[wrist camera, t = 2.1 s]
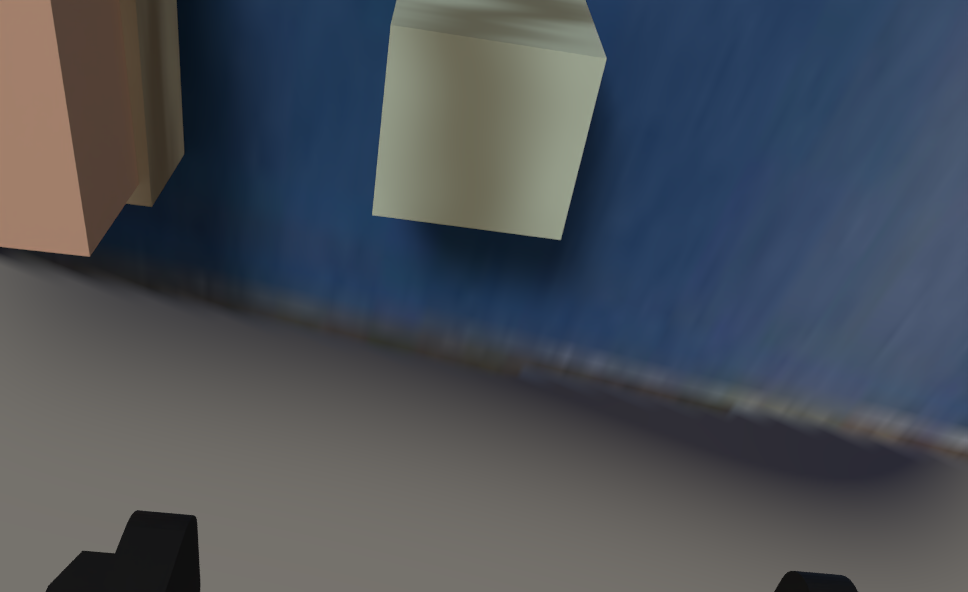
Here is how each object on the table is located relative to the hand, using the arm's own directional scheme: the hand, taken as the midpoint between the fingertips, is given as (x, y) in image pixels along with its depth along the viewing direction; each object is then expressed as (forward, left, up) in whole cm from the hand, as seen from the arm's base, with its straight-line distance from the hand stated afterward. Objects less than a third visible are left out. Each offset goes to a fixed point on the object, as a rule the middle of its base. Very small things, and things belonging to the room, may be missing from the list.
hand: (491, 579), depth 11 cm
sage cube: (0, 0, -19) cm, 19 cm away
